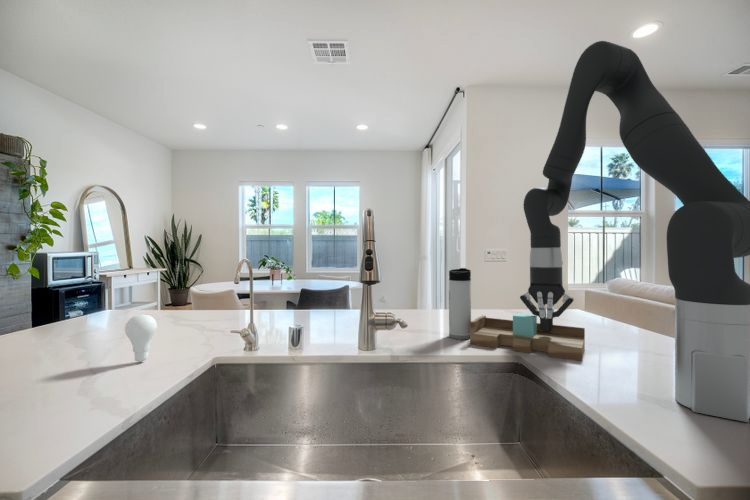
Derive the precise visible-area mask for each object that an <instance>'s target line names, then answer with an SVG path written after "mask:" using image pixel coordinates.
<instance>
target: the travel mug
mask: <svg viewBox="0 0 750 500" xmlns="http://www.w3.org/2000/svg"><path fill="white" fill-rule="evenodd" d="M471 271H472V270H471V269H468V268H466V267H460V268H455V269H450V270H448V276H449V278H448V336H449V337H450V338H451V339H452V340H453V339H454V340H462V341H463V340H464V341H465V340H470V322H471V321H472V281H471V280H472V279H471V277H472V275H471V274H472V272H471Z"/></svg>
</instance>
